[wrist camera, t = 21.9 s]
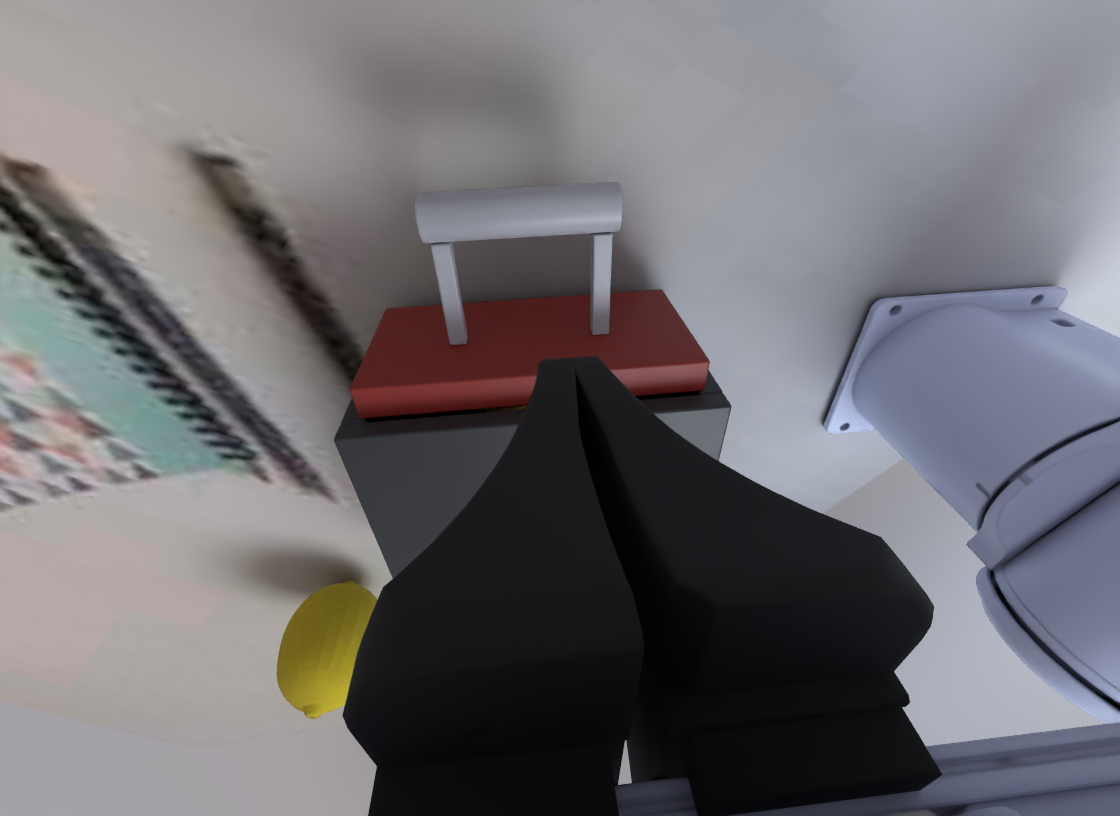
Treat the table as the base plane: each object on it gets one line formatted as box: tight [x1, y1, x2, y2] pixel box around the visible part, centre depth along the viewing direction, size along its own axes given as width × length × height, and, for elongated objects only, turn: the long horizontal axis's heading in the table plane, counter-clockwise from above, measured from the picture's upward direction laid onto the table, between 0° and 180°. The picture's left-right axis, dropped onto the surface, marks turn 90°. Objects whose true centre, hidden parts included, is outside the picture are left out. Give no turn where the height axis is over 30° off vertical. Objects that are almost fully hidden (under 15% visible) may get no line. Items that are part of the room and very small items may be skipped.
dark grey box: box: [334, 370, 731, 578], centre depth 22 cm, size 15×13×8 cm
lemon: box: [277, 580, 377, 719], centre depth 28 cm, size 6×6×8 cm
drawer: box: [350, 182, 710, 420], centre depth 20 cm, size 18×11×6 cm, turn 0°
